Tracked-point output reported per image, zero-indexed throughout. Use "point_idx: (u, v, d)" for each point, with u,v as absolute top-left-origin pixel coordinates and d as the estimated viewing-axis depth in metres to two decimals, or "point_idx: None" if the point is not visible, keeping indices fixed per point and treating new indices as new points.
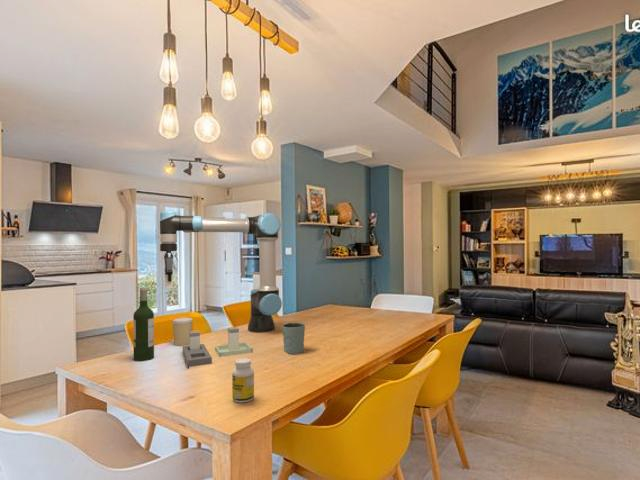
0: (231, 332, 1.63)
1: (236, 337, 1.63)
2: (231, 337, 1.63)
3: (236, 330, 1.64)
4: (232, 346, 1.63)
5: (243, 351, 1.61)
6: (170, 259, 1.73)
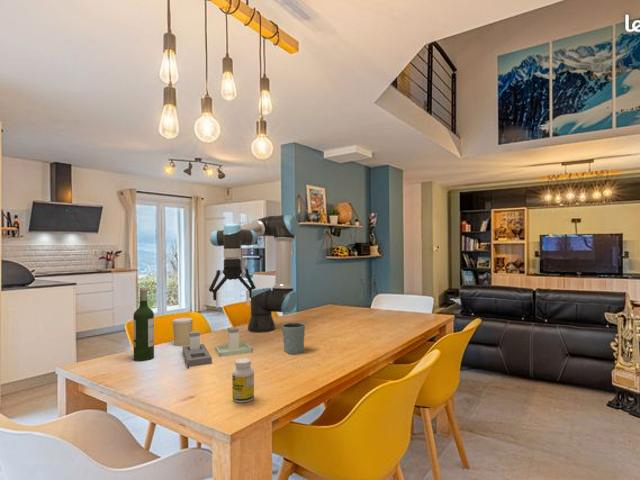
0: (231, 332, 1.63)
1: (236, 337, 1.63)
2: (231, 337, 1.63)
3: (236, 330, 1.64)
4: (232, 346, 1.63)
5: (243, 351, 1.61)
6: (215, 276, 1.62)
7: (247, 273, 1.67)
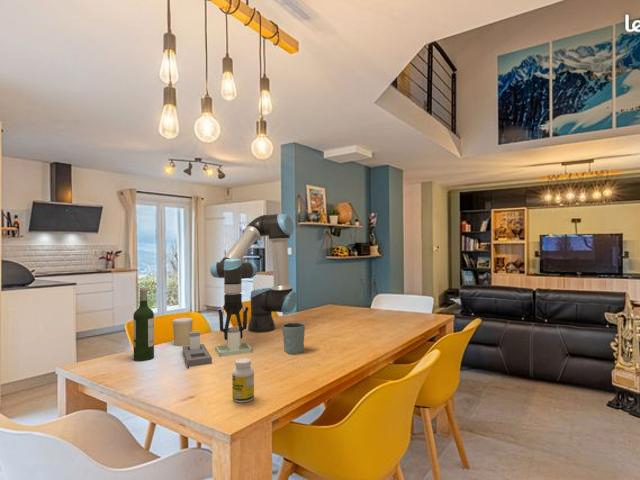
0: (231, 332, 1.63)
1: (236, 337, 1.63)
2: (231, 337, 1.63)
3: (236, 330, 1.64)
4: (232, 346, 1.63)
5: (243, 351, 1.61)
6: (219, 316, 1.62)
7: (246, 311, 1.66)
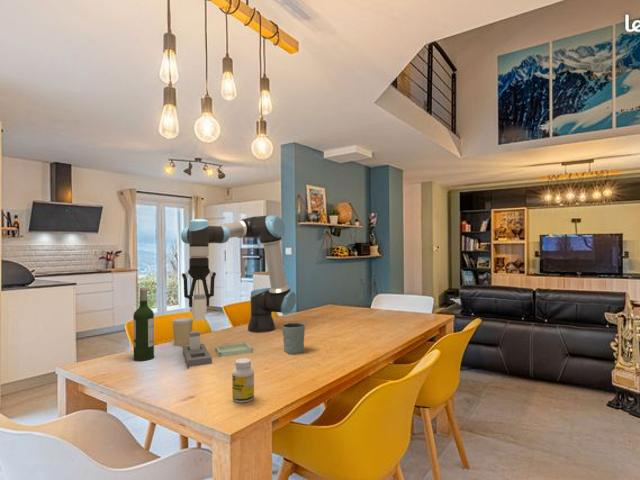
0: (196, 299, 1.50)
1: (201, 304, 1.50)
2: (196, 304, 1.50)
3: (202, 296, 1.51)
4: (197, 313, 1.50)
5: (243, 351, 1.61)
6: None
7: (213, 277, 1.53)
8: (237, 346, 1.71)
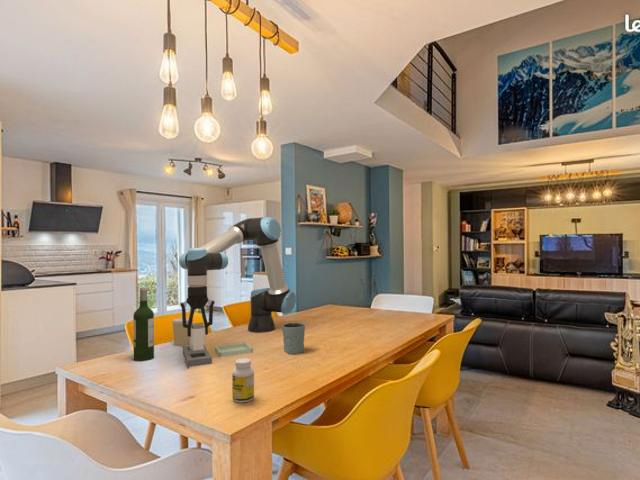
0: (195, 328, 1.49)
1: (200, 333, 1.50)
2: (195, 333, 1.49)
3: (200, 326, 1.50)
4: (195, 343, 1.49)
5: (243, 351, 1.61)
6: (182, 310, 1.48)
7: (212, 305, 1.53)
8: (237, 346, 1.71)
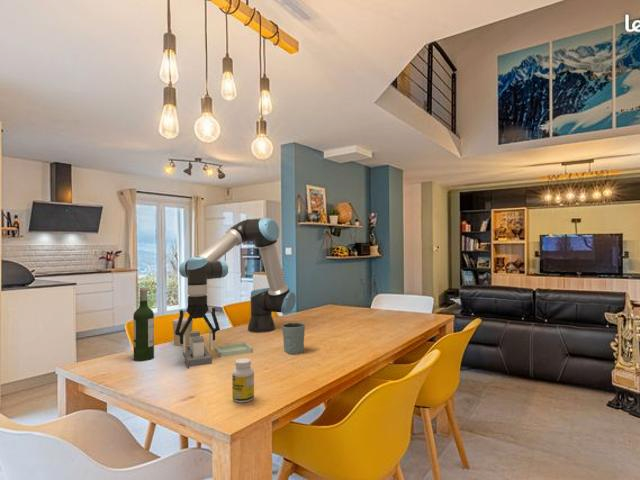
0: (195, 342, 1.49)
1: (200, 347, 1.50)
2: (195, 347, 1.49)
3: (201, 340, 1.50)
4: None
5: (243, 351, 1.61)
6: (179, 317, 1.48)
7: (213, 312, 1.53)
8: (237, 346, 1.71)
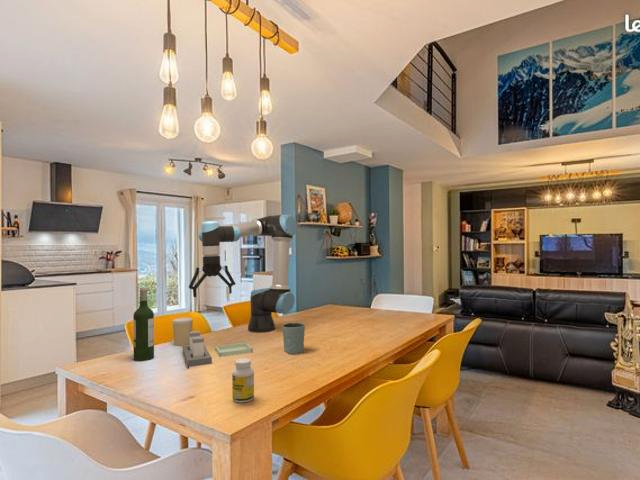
0: (195, 342, 1.49)
1: (200, 347, 1.49)
2: (195, 347, 1.49)
3: (201, 340, 1.50)
4: None
5: (243, 351, 1.61)
6: (195, 274, 1.64)
7: (226, 269, 1.70)
8: (237, 346, 1.71)
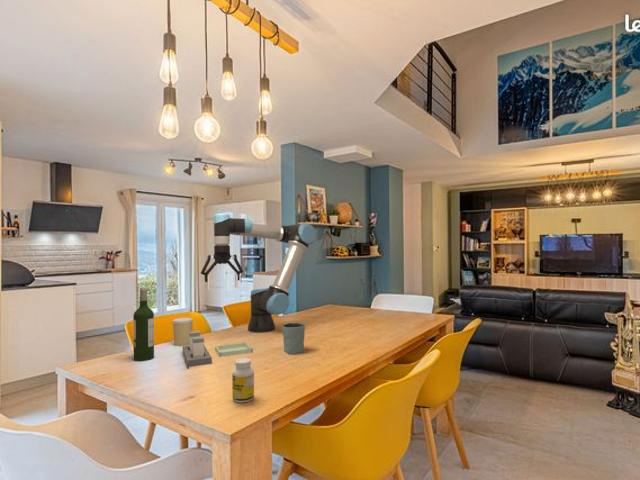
0: (195, 342, 1.49)
1: (200, 347, 1.50)
2: (195, 347, 1.49)
3: (201, 340, 1.50)
4: None
5: (243, 351, 1.61)
6: (206, 261, 1.80)
7: (235, 258, 1.85)
8: (237, 346, 1.71)
